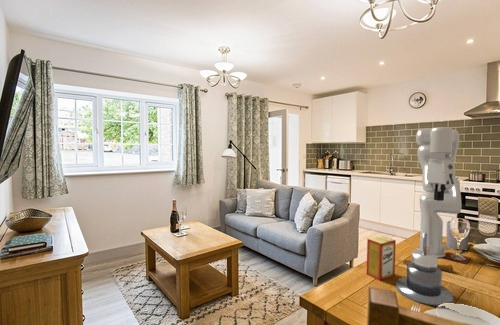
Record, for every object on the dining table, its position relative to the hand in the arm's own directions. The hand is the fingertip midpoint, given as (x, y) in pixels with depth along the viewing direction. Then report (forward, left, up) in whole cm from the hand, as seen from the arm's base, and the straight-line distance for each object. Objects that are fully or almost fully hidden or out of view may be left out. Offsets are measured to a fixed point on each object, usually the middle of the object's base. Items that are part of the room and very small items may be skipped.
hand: (438, 200), depth 111 cm
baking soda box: (+23, -4, -33) cm, 41 cm away
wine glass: (-39, -30, -33) cm, 60 cm away
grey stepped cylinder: (+15, +11, -33) cm, 38 cm away
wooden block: (+12, +8, -23) cm, 27 cm away
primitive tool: (-3, -9, -34) cm, 35 cm away
